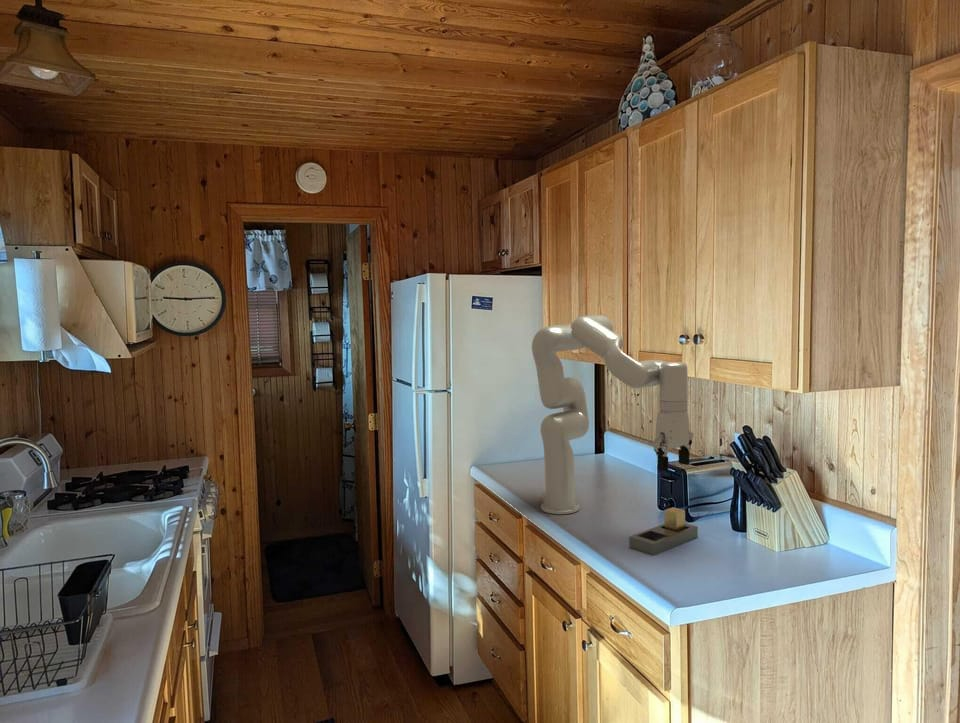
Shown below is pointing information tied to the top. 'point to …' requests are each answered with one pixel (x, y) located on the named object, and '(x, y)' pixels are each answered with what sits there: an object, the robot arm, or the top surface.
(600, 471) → the top surface
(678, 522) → the yellow rectangular block
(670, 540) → the grey slotted block
